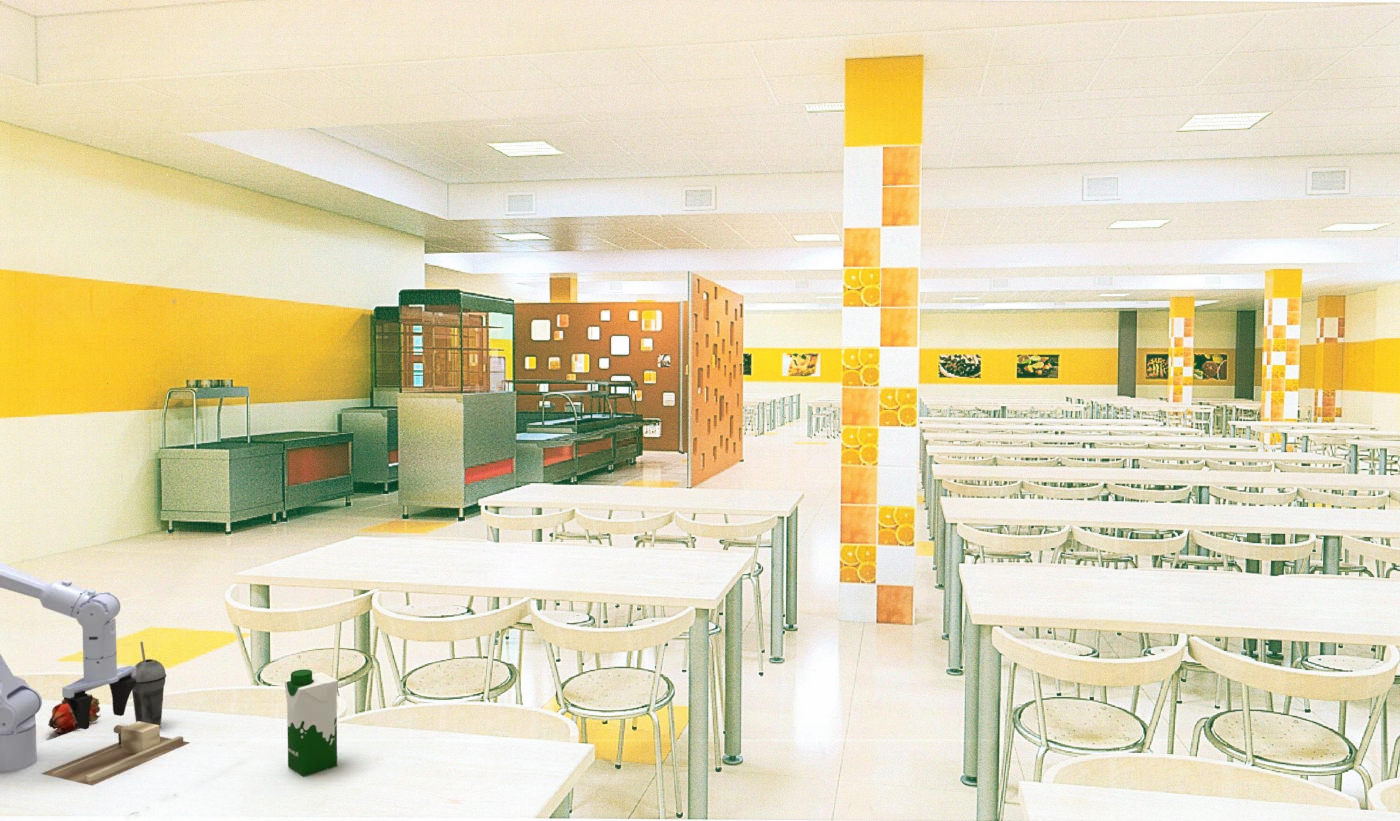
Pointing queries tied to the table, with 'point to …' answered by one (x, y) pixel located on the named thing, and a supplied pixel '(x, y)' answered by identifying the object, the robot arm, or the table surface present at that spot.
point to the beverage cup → (148, 690)
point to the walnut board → (111, 762)
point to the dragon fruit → (70, 716)
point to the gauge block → (138, 736)
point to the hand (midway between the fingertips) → (101, 721)
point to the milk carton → (311, 721)
